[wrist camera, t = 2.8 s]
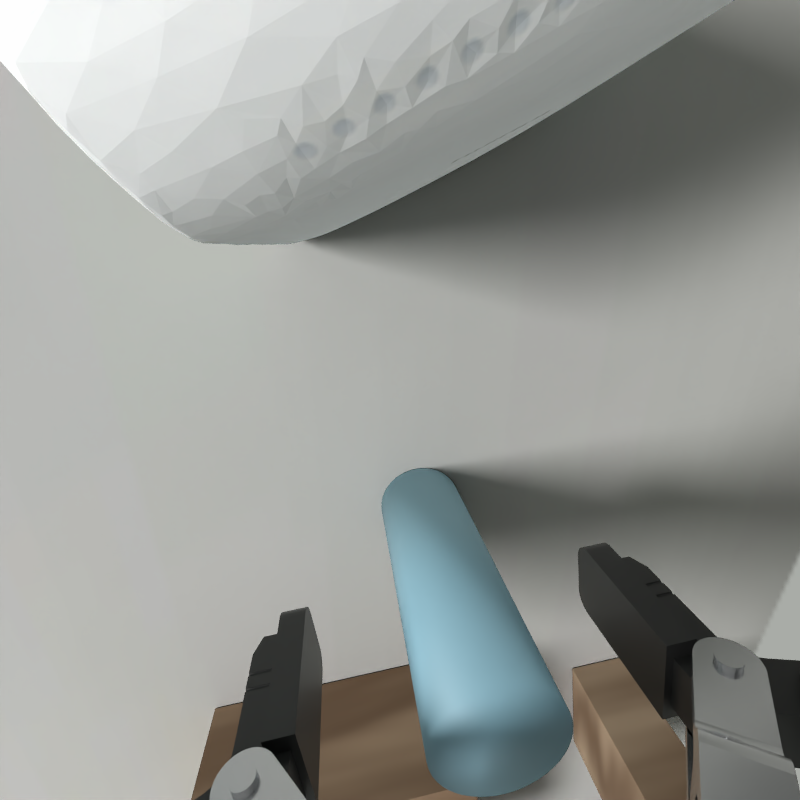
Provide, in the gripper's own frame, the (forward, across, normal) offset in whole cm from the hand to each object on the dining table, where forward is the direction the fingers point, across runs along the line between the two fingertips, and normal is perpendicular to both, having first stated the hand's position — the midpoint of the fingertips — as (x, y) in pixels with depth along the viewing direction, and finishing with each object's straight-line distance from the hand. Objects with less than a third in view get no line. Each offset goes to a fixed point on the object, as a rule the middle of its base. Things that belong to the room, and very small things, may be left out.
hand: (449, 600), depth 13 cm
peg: (+5, 0, 0) cm, 5 cm away
